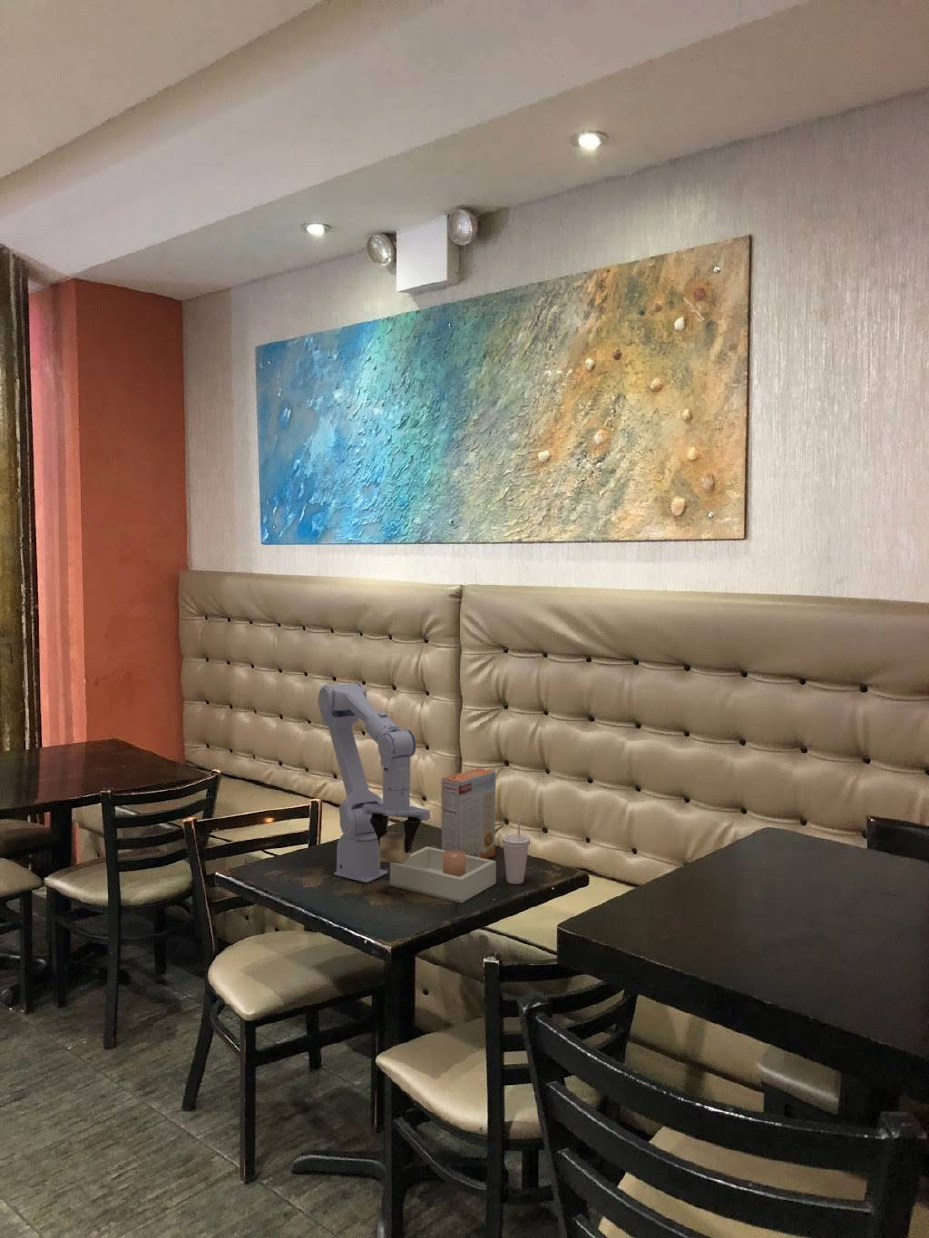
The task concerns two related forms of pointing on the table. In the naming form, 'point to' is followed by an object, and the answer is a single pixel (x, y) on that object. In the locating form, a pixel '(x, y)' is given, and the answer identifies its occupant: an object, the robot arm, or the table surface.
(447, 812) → the cracker box
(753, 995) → the table surface
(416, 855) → the tote
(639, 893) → the table surface
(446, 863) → the cylinder
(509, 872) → the smoothie
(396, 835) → the cube
